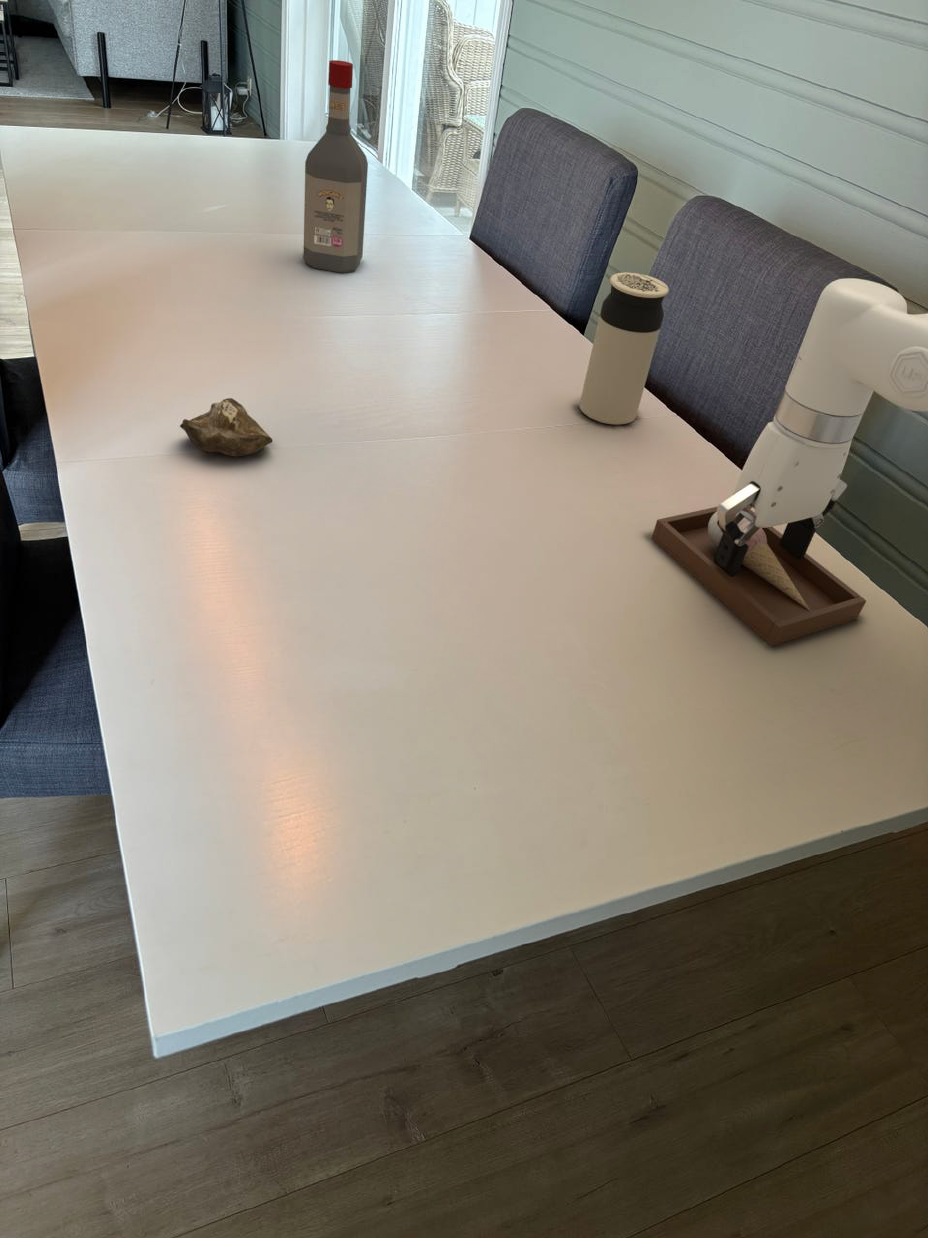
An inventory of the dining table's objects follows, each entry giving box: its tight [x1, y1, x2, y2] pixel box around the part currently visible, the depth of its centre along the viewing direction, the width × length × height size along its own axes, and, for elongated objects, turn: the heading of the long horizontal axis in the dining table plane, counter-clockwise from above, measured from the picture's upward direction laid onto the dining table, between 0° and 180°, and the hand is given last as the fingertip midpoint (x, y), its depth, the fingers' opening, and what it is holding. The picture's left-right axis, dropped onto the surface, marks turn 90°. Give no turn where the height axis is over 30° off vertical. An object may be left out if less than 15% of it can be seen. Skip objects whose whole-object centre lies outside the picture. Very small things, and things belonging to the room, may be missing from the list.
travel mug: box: [578, 272, 670, 426], centre depth 120 cm, size 8×8×18 cm
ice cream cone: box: [708, 512, 810, 611], centre depth 98 cm, size 5×5×15 cm
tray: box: [651, 506, 867, 647], centre depth 99 cm, size 20×13×2 cm, turn 29°
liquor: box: [302, 59, 369, 274], centre depth 148 cm, size 9×9×30 cm
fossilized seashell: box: [179, 397, 273, 458], centre depth 104 cm, size 8×7×10 cm
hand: (758, 560), depth 98 cm, fingers open, 9 cm apart
